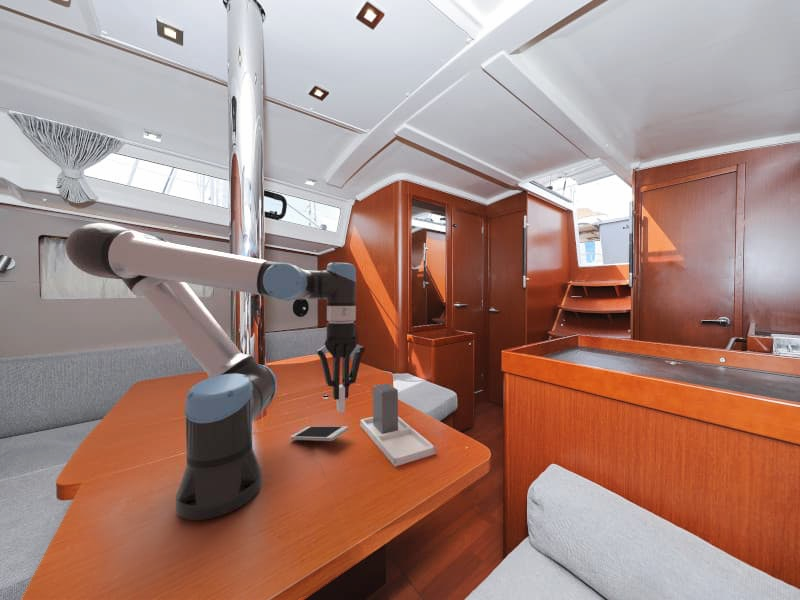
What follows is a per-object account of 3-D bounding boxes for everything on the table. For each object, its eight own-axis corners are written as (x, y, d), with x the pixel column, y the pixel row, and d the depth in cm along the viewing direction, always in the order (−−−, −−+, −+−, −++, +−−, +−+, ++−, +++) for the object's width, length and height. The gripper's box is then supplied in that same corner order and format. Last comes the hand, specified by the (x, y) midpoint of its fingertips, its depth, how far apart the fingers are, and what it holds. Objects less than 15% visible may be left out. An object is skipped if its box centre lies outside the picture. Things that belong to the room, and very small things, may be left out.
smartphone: (332, 441, 72) (331, 437, 73) (289, 439, 79) (289, 436, 79) (349, 429, 79) (348, 425, 79) (308, 429, 86) (308, 425, 86)
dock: (394, 466, 66) (394, 412, 66) (360, 425, 88) (359, 384, 88) (435, 453, 72) (435, 403, 71) (393, 417, 93) (393, 379, 93)
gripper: (319, 324, 69) (318, 420, 69) (369, 322, 75) (368, 411, 75) (313, 321, 75) (312, 409, 76) (360, 320, 81) (359, 401, 82)
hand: (340, 410), depth 75 cm, fingers closed
